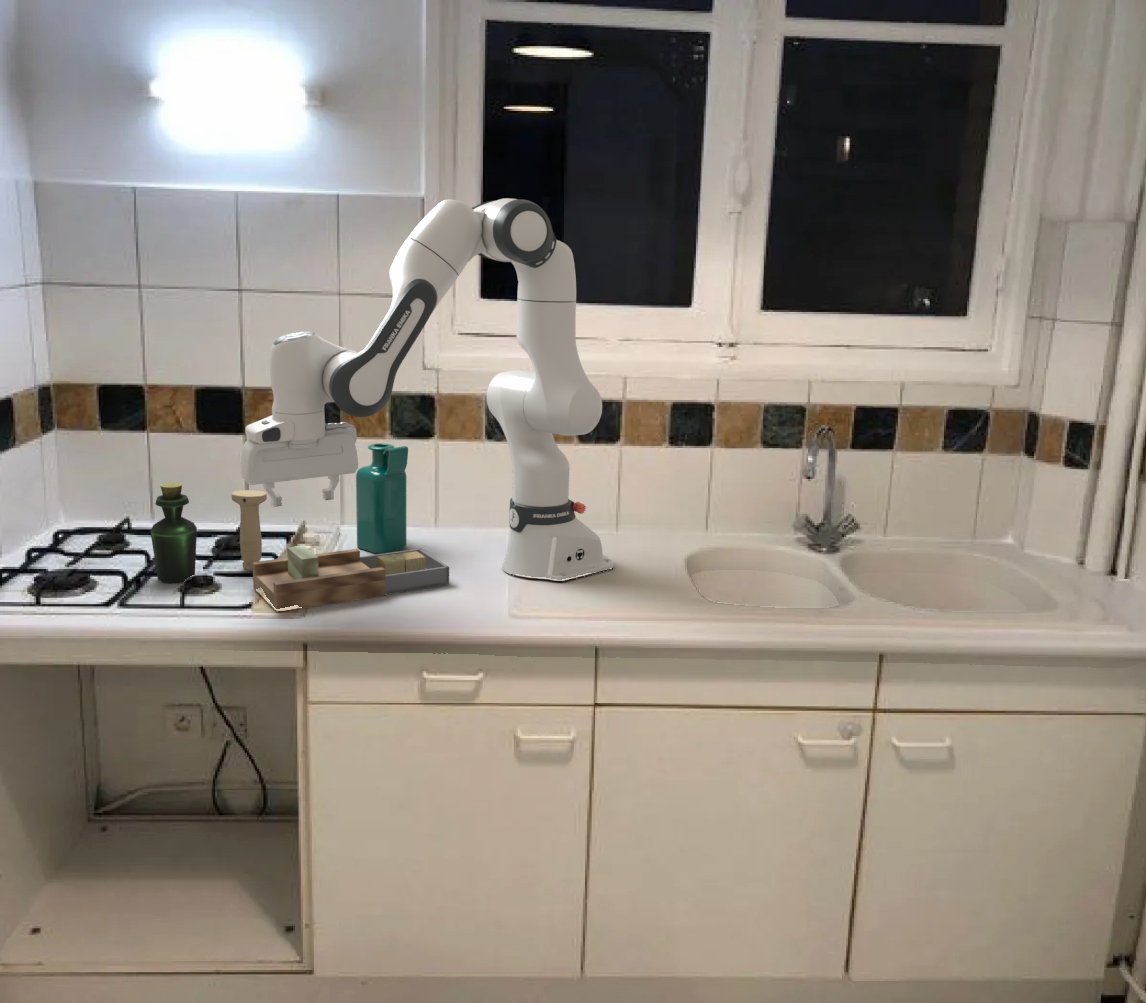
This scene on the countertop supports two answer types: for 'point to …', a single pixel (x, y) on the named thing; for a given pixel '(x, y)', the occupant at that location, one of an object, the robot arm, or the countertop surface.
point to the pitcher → (382, 500)
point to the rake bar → (302, 562)
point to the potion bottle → (173, 537)
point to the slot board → (320, 581)
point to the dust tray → (413, 574)
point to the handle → (250, 525)
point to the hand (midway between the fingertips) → (302, 502)
